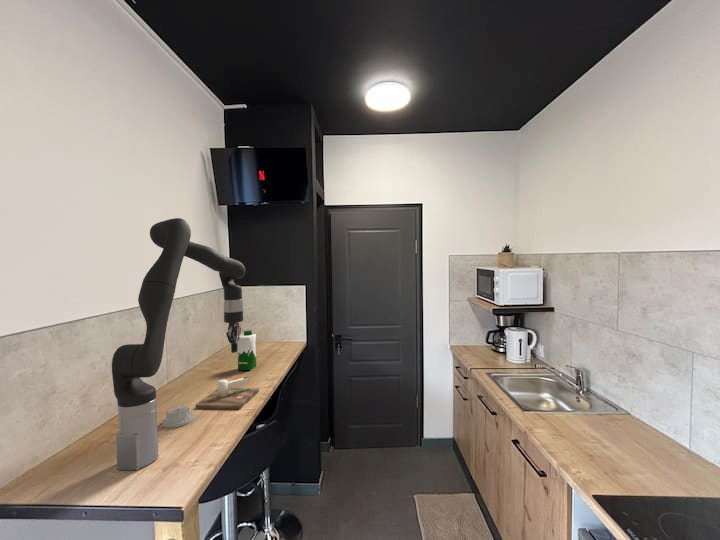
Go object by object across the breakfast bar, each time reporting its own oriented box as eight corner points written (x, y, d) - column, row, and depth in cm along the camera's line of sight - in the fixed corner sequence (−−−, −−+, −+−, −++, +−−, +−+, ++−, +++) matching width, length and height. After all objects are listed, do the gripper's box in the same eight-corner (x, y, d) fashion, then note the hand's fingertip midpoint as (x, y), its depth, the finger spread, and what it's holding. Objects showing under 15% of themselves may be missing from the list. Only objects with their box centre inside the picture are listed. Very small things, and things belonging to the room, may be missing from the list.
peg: (249, 389, 146) (249, 376, 146) (219, 398, 138) (219, 383, 138) (246, 387, 149) (245, 374, 149) (216, 395, 141) (215, 381, 141)
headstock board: (240, 409, 131) (240, 404, 131) (195, 408, 133) (195, 404, 133) (258, 391, 149) (258, 387, 149) (219, 391, 151) (219, 387, 151)
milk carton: (258, 366, 186) (257, 330, 186) (250, 371, 177) (249, 333, 177) (243, 366, 188) (242, 330, 187) (235, 371, 179) (233, 333, 178)
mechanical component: (155, 427, 118) (180, 429, 116) (154, 415, 118) (179, 416, 116) (176, 415, 128) (199, 416, 126) (175, 403, 128) (199, 404, 126)
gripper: (238, 311, 135) (239, 355, 135) (246, 308, 149) (247, 348, 149) (218, 312, 135) (220, 356, 135) (229, 309, 148) (230, 348, 148)
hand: (234, 352), depth 142 cm, fingers closed
